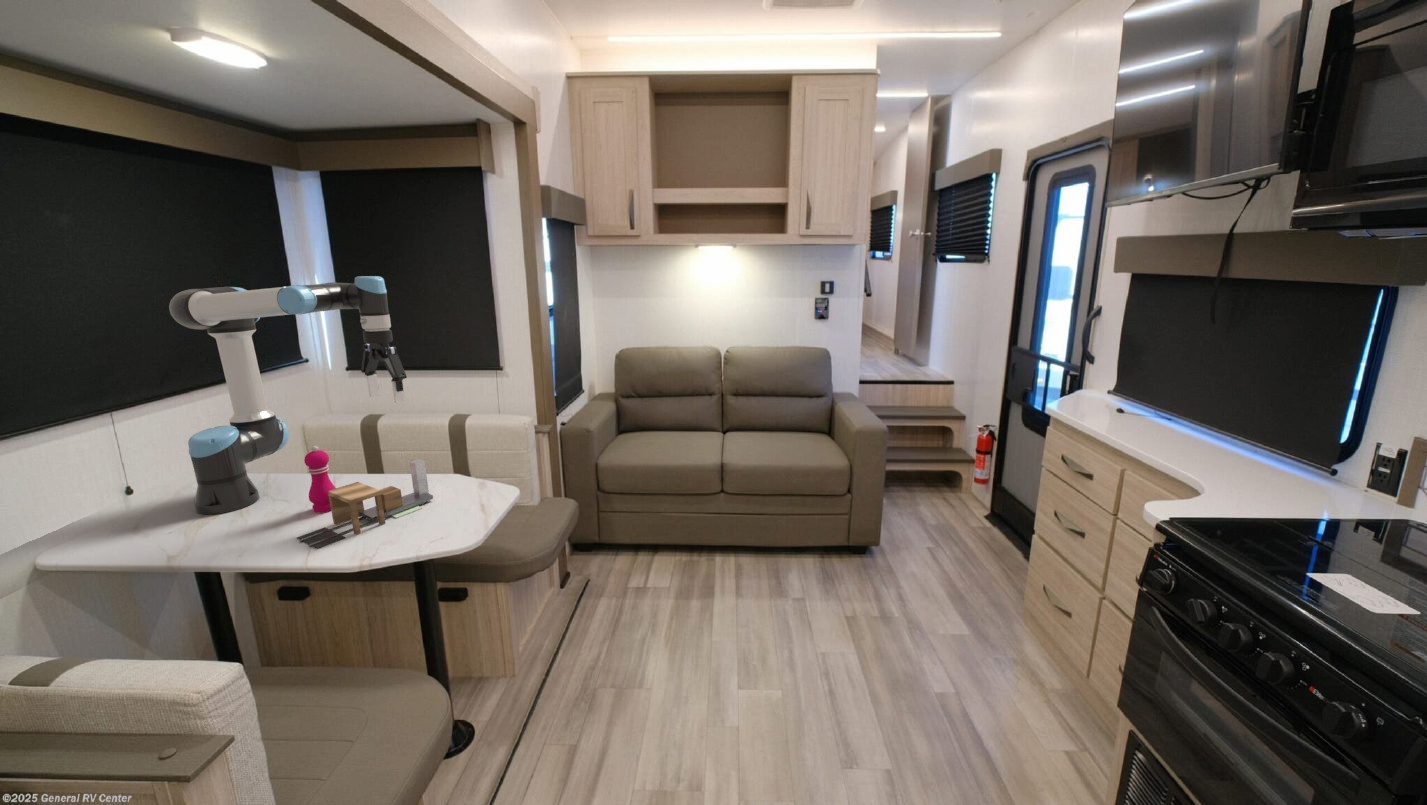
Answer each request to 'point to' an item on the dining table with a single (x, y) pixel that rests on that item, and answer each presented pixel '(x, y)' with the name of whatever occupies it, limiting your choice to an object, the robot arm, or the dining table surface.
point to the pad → (406, 511)
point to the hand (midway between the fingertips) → (387, 398)
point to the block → (391, 497)
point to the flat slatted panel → (321, 538)
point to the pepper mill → (319, 480)
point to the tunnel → (353, 503)
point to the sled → (411, 499)
